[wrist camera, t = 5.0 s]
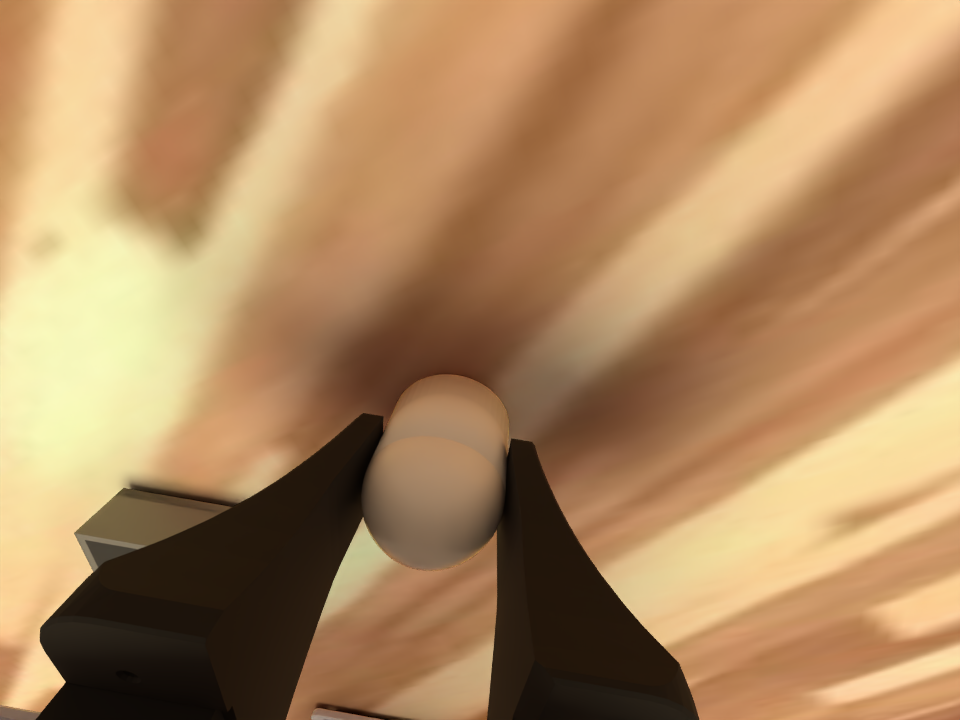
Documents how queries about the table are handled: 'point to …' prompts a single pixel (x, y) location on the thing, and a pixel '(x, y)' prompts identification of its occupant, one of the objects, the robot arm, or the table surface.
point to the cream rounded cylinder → (438, 474)
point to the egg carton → (139, 523)
